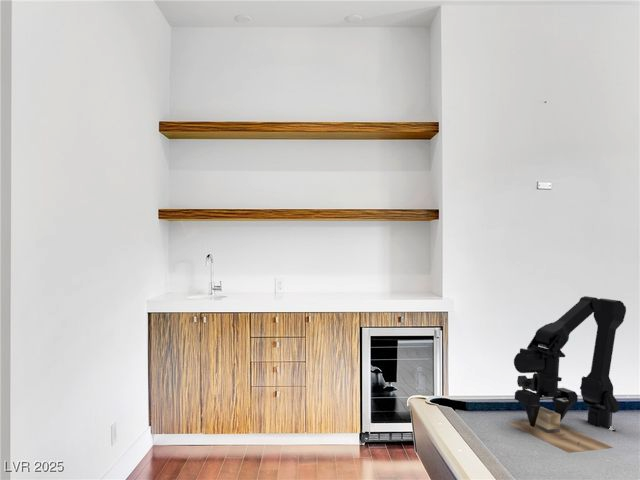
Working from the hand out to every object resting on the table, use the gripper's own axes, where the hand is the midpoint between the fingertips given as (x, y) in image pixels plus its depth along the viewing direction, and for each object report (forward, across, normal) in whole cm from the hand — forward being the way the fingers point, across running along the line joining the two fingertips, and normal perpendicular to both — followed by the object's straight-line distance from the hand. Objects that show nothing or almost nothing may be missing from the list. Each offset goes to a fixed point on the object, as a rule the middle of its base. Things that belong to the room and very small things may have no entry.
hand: (544, 425), depth 147 cm
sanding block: (+1, 0, 0) cm, 1 cm away
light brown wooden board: (+2, 0, +5) cm, 5 cm away
